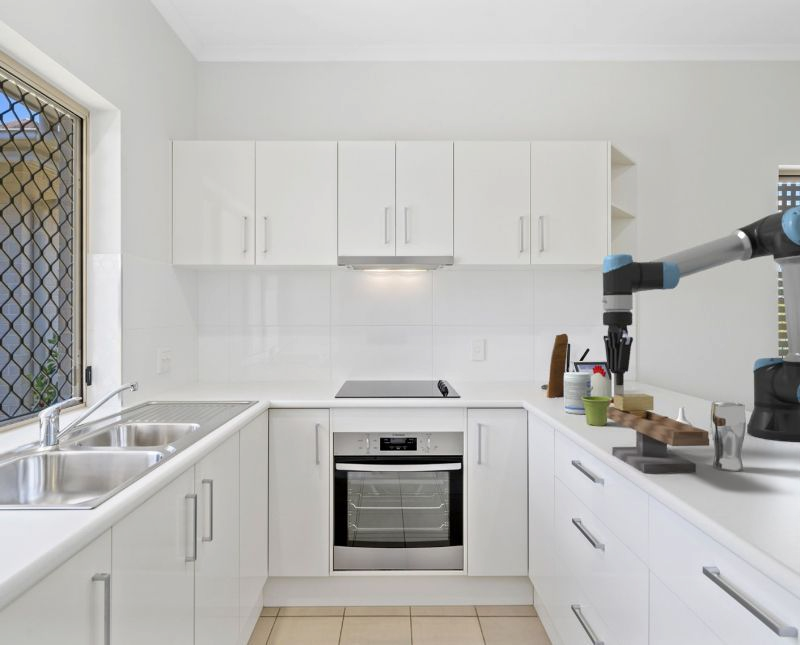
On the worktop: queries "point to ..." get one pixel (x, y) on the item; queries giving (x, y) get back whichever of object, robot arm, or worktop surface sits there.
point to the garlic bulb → (682, 417)
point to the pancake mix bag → (557, 367)
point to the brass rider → (634, 403)
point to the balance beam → (657, 442)
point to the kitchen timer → (601, 383)
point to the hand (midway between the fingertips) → (617, 396)
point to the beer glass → (728, 434)
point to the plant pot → (596, 409)
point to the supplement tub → (576, 391)
